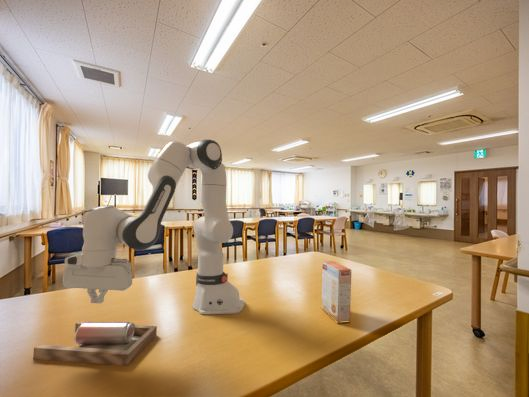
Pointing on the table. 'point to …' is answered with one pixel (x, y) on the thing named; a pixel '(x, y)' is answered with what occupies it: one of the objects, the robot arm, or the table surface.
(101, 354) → the tray
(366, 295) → the table surface
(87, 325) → the beverage can
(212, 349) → the table surface
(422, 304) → the table surface
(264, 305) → the table surface
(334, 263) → the cracker box
